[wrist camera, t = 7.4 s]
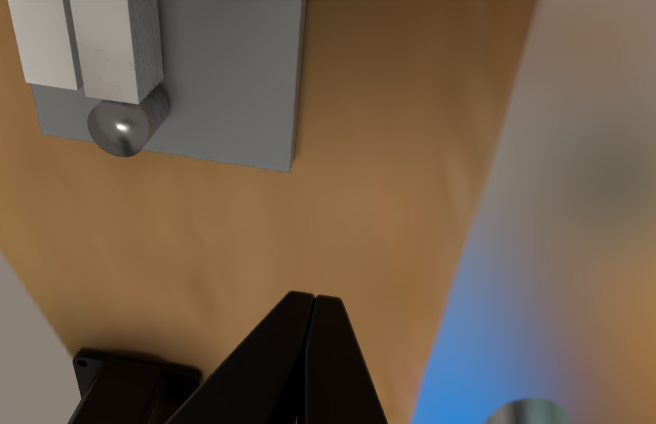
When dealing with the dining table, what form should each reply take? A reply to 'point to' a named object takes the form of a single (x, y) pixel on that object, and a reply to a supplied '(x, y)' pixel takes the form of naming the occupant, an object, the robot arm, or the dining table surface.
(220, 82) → the grey flat piece
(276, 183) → the dining table surface
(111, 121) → the tong arm
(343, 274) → the dining table surface
